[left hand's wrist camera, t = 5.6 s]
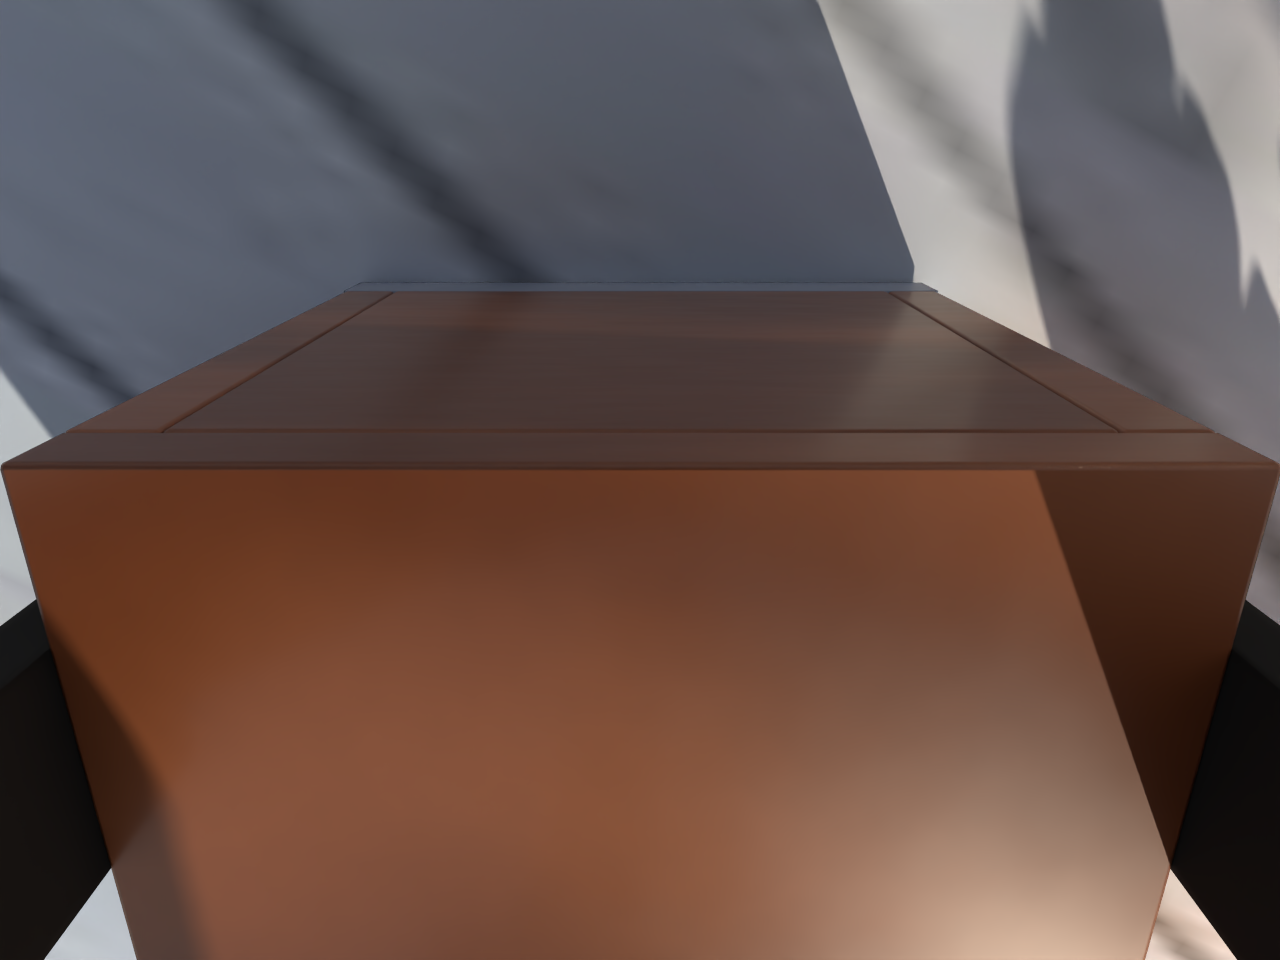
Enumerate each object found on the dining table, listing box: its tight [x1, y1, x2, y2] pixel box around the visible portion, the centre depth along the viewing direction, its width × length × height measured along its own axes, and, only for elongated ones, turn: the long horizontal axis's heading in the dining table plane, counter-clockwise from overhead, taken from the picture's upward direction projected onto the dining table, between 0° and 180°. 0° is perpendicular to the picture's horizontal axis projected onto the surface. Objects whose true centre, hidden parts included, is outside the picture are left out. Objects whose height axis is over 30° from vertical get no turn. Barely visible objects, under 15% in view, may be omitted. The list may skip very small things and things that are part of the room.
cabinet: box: [1, 283, 1280, 960], centre depth 16 cm, size 16×11×11 cm
